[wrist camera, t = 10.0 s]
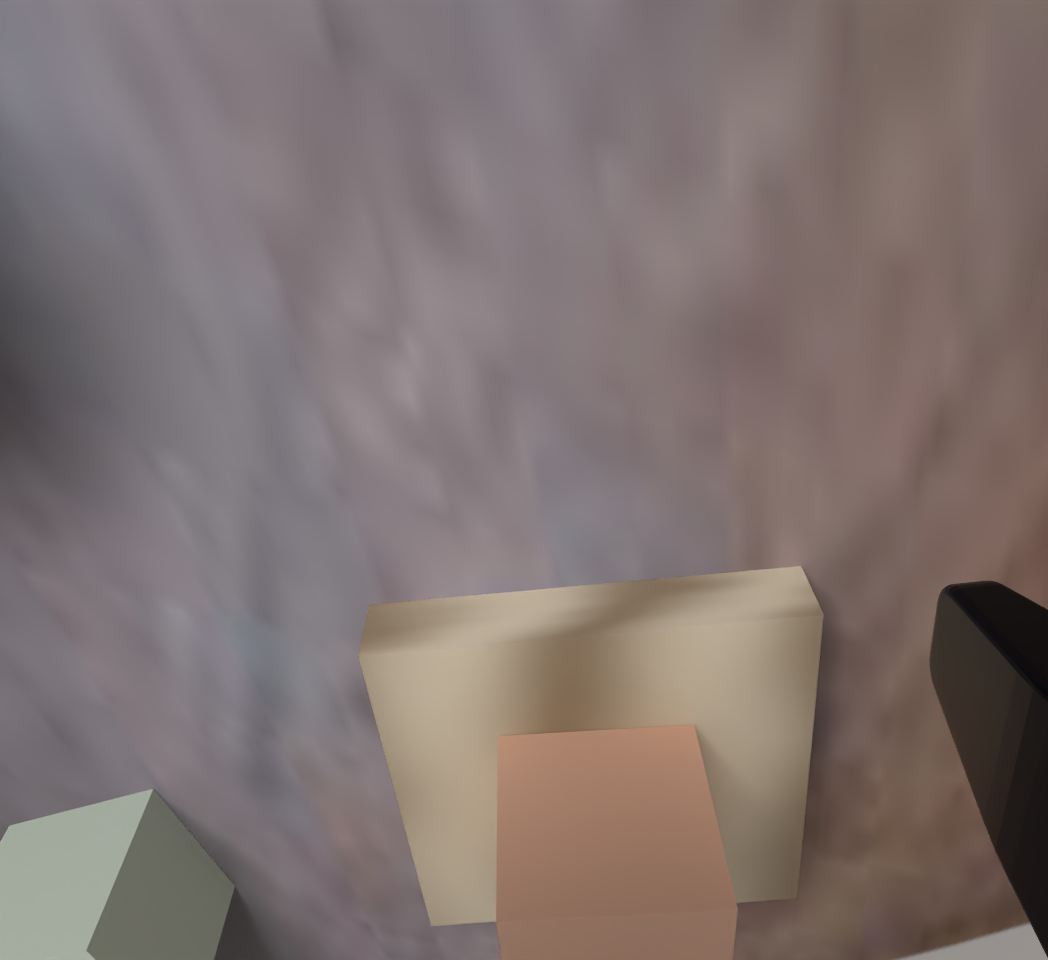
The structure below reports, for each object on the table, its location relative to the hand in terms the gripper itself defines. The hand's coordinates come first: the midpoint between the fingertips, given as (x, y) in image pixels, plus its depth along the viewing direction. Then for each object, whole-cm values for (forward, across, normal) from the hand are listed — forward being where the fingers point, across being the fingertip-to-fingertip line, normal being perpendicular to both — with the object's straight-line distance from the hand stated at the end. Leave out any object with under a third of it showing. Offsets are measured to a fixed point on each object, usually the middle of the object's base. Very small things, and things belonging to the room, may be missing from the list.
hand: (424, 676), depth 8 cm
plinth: (+13, -1, +14) cm, 19 cm away
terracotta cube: (+10, -1, +14) cm, 18 cm away
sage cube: (+12, +14, +18) cm, 25 cm away
